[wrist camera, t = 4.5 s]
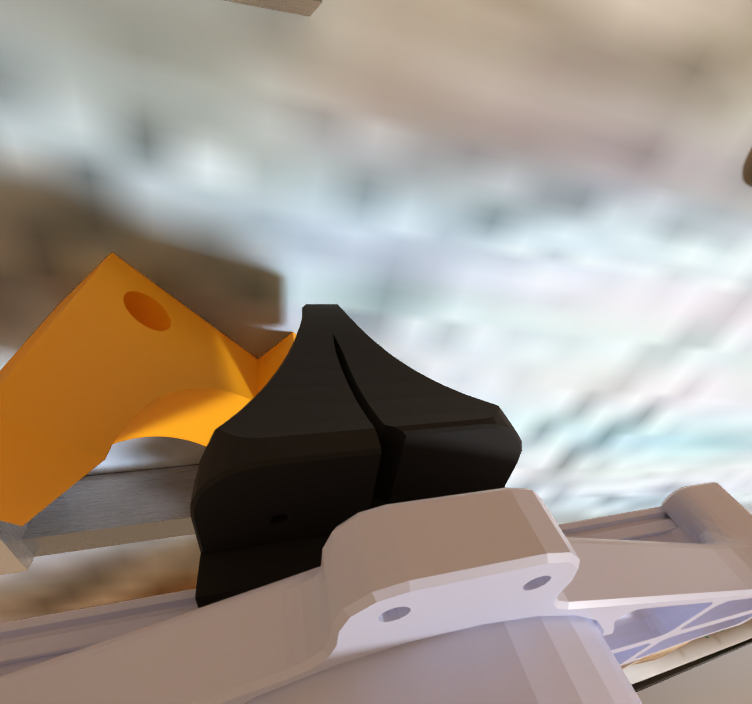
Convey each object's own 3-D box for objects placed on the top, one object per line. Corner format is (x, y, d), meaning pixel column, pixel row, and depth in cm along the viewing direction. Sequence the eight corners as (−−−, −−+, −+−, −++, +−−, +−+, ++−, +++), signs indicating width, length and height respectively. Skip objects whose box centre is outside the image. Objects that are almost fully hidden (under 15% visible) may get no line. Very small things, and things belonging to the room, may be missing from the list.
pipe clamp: (389, 413, 18) (438, 551, 13) (319, 461, 19) (338, 608, 14) (153, 211, 10) (49, 343, 5) (57, 305, 11) (-107, 492, 6)
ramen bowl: (797, 469, 34) (917, 561, 28) (731, 559, 49) (800, 633, 42) (541, 572, 35) (601, 684, 29) (551, 630, 50) (592, 713, 43)
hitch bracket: (303, 470, 18) (308, 528, 16) (20, 501, 16) (-24, 578, 13) (310, -58, 8) (329, -108, 6) (-540, -259, 5) (-1201, -525, 3)
